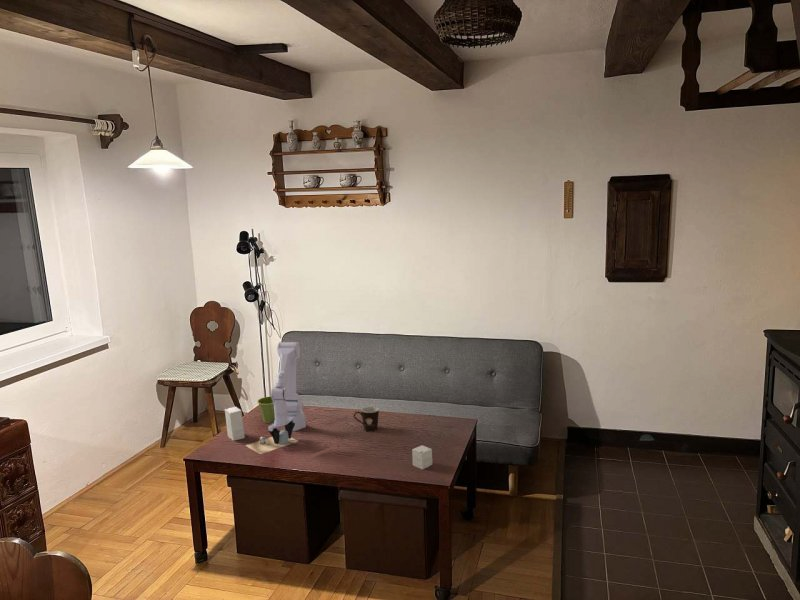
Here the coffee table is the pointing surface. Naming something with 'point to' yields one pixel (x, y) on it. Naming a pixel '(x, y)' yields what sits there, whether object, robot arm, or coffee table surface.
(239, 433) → the skincare box
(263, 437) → the stud
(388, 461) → the coffee table surface
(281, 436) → the cap
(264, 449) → the board
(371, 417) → the coffee mug
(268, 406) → the plant pot
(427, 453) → the skincare box
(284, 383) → the robot arm
